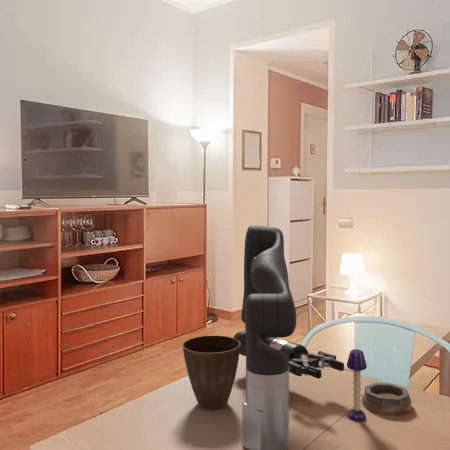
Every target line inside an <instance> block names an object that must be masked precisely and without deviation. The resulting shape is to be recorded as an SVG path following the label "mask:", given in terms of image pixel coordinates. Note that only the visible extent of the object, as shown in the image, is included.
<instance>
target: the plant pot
mask: <svg viewBox="0 0 450 450" xmlns="http://www.w3.org/2000/svg"><path fill="white" fill-rule="evenodd" d="M240 345H241V343H240V342H239V341H238V340H237V339H234V338H233V337H230V336H226V335H225V336H224V335H203V336H202V335H201V336H196V337H192V338H189V339H187V340H185V341H184V342H183V343H182V351H183V357H184V362H185V367H186V371H187V375H188V379H189V381H190V386H191V388H192V391H193V394H194V396H195V400H196V401H197V404H198V406H199V407H200V408H202V409H205V410H214V411H215V410H219V409H223V408H225V407H226V406H227V405H228V402H229V399H230V397H231V394H232V390H233V387H234V382H235V381H236V375H237V372H238V371H237V369H238V365H239V360H240V354H239V353H240Z"/></svg>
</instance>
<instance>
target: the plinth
mask: <svg viewBox="0 0 450 450" xmlns="http://www.w3.org/2000/svg"><path fill="white" fill-rule="evenodd" d="M361 403H362V406H363V407H364V408H365V409H366V410H368V411H370V412H372V413H375V414H379V415H383V416H403V415H407V414H408V413H409V412H411V410H412V399H411V397H410V394H409V392H408V390H407V388H406V387H403V386H399V385H397V384H394V383H390V382H389V383H387V382H386V383H385V382H373V383H370V384H368V385H365V386H364V392H363V393H362V394H361Z"/></svg>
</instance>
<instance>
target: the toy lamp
mask: <svg viewBox="0 0 450 450" xmlns="http://www.w3.org/2000/svg"><path fill="white" fill-rule="evenodd" d="M367 366H368V365H367V362H366V358H365V354H364V351H363V350H361V349H358V348H357V349H356V348H354V349H351V350H350V352H349V355H348V358H347V363H346V368H348V369H349V370H351V371H353V374H352V376H353V381H352V383H353V386H352V388H353V389H352V391H353V394H352V397H353V400H352V402H353V403H352V404H353V406H352V409H351V410H349V412H348V414H347V417H348V419H349V420H351V421H353V422H363V421H365V420H366V419H367V415H366V414H365V412H364V410H362V409H361V403H362V399H361V398H362V394H361V391H362V387H361V384H362V381H361V379H362V376H361V371H365V370H366V369H367Z"/></svg>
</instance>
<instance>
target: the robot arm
mask: <svg viewBox="0 0 450 450" xmlns="http://www.w3.org/2000/svg"><path fill="white" fill-rule="evenodd" d="M244 239H245V240H244V251H243V252H244V253H243V255H244V256H243V298H242V299H243V300H242V307H241V315H240V316H241V322H243V323H244V329H245V330H239V331H238V332H237V333H235V334H234V336H233V337H232V338H234V339H237V340H238V341H239V342H240V343H241V345H240V353H239V355H240V356H243V357H245V358H246V359H245V402H243V403H242V405H241V406H242V416H241V417H242V447H244V448H246V449H247V450H289V447H290V446H289V445H290V415H289V414H290V411H289V410H290V374H292V375H294V376H297V377H302V376H310V377H313V378H316V379H318V380H319V379H321V378H322V370H324V369H325V368H331V369H333V370H337V371H340V372H344V370H345V364H344V362H343V361H341V360H340V361H339V360H337V355H335V354H332V353H328V352H324V351H322V350H320V351H319V350H318V351H317V353H314V352H309V351H308V349H307V348H306V346H305V345H304V344H300V343H297V342H294V341H291V340H288V339H284V338H287V337H290V336H292V335H293V334H294V333H295V330H296V327H297V310H296V306H295V300H294V298H293V294H292V292H291V288H290V281H289V273H288V272H289V271H288V266H287V262H286V259H285V240H284V234H283V232H282V230H281V228H278V227H274V226H265V225H257V224H256V225H254V224H251V225H249V226H248V227H247V229H246V233H245V237H244ZM281 338H282V339H281ZM320 363H321V364H320Z"/></svg>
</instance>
